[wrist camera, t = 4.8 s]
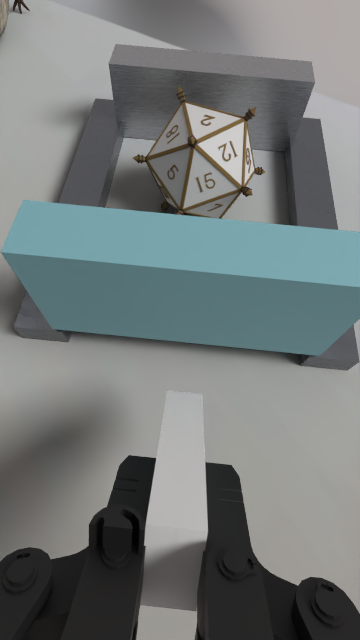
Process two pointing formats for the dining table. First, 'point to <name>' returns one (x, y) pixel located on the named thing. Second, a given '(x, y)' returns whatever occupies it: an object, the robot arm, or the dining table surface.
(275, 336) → the sliding jaw
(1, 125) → the dining table surface
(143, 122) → the vise base
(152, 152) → the game die
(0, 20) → the decorative bird
